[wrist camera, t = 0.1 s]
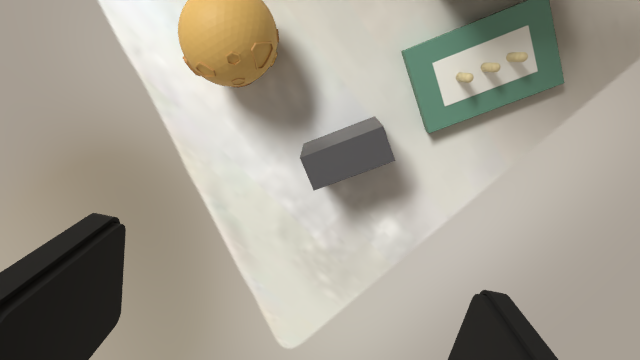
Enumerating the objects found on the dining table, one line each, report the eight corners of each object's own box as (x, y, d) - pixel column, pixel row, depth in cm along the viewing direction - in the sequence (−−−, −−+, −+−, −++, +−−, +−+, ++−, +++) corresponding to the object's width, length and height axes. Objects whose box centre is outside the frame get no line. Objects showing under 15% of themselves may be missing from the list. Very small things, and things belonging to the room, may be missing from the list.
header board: (401, 51, 43) (410, 50, 38) (539, -5, 41) (566, -13, 36) (425, 131, 46) (436, 138, 41) (556, 82, 44) (582, 84, 39)
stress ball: (206, -4, 42) (147, 51, 38) (236, -60, 34) (165, 2, 30) (270, 61, 46) (223, 117, 42) (312, 24, 38) (258, 90, 33)
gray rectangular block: (303, 143, 46) (300, 157, 40) (374, 116, 45) (383, 126, 38) (315, 172, 47) (313, 190, 41) (384, 146, 46) (395, 160, 40)
